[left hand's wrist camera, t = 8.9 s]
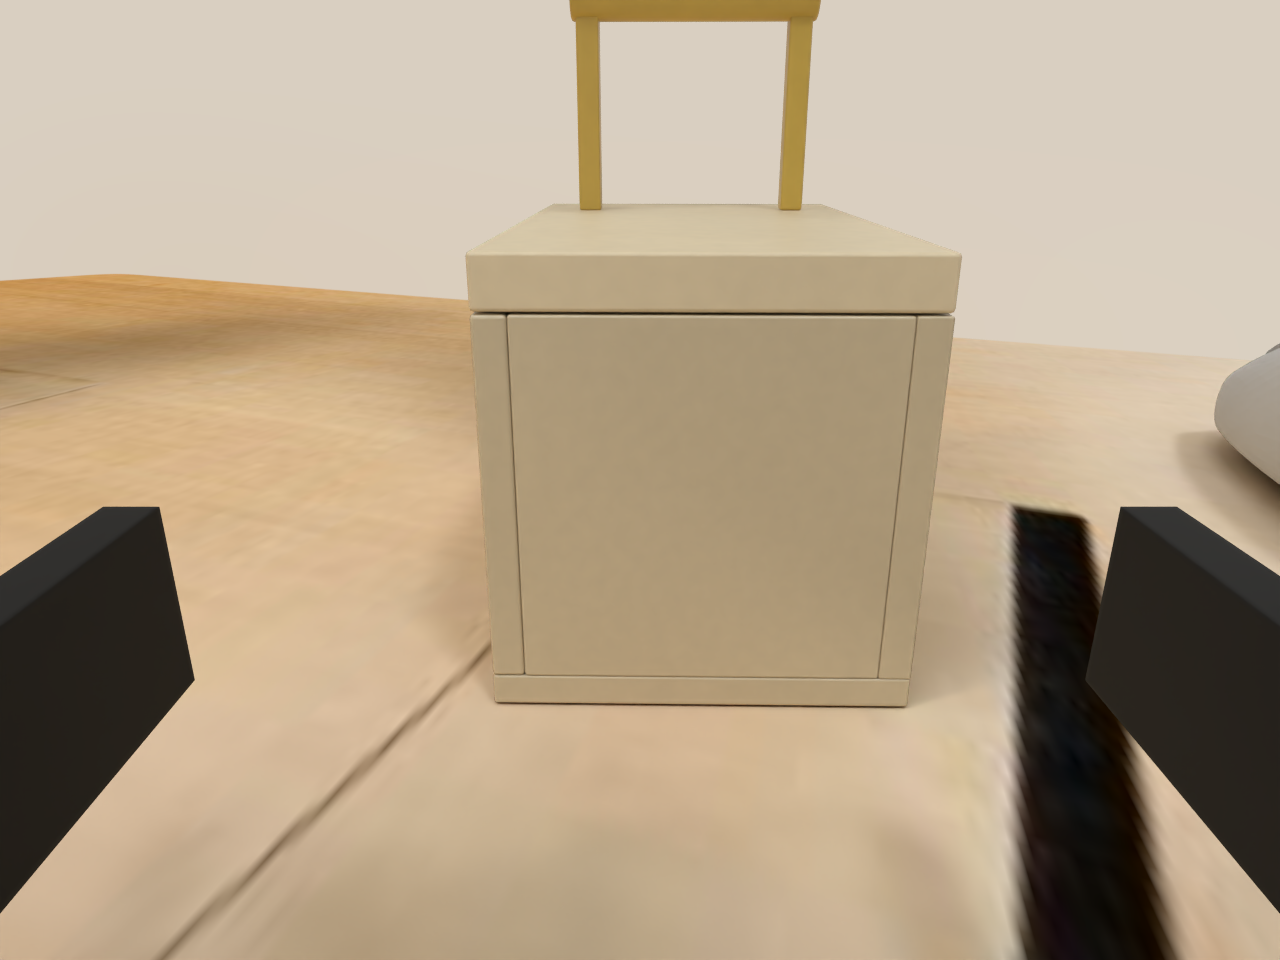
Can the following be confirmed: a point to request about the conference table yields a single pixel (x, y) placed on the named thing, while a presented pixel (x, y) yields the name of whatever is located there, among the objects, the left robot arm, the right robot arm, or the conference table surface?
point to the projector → (1253, 412)
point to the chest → (707, 502)
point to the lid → (705, 219)
